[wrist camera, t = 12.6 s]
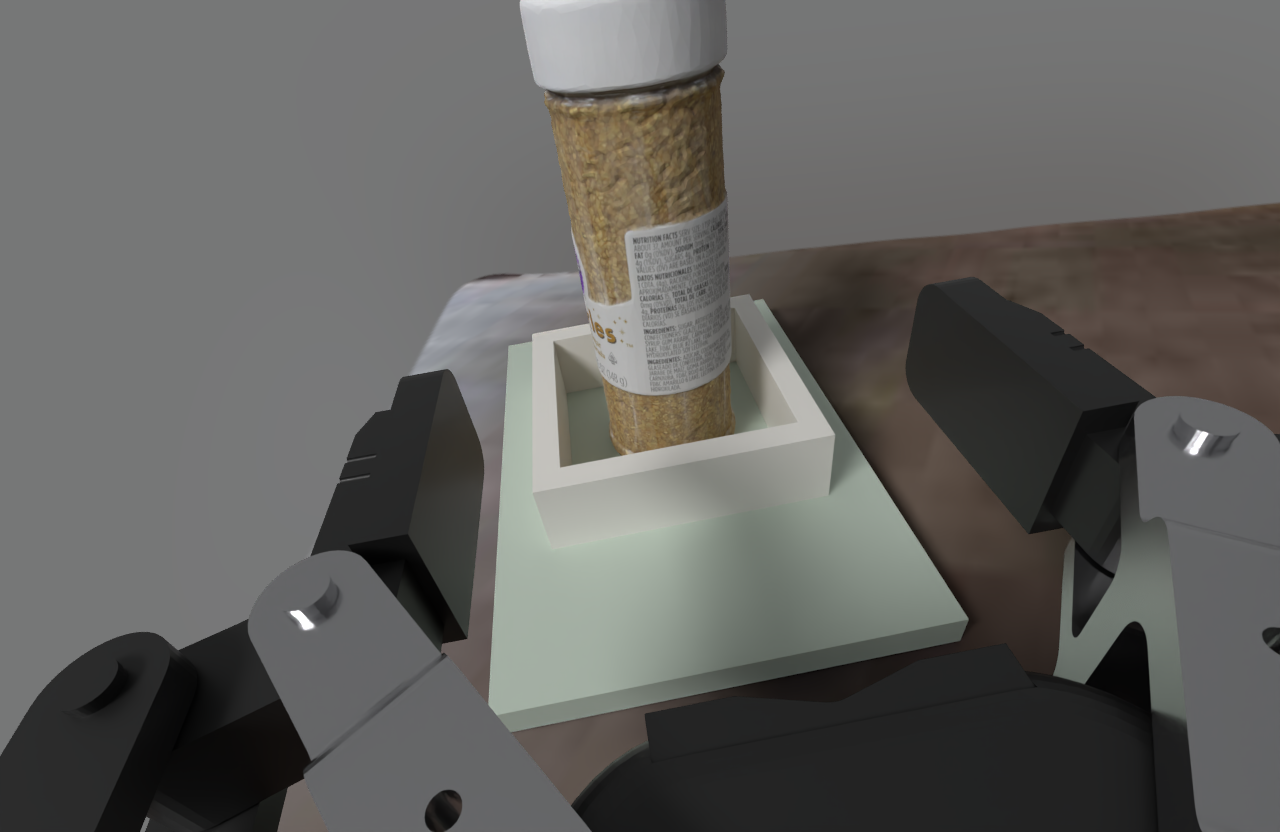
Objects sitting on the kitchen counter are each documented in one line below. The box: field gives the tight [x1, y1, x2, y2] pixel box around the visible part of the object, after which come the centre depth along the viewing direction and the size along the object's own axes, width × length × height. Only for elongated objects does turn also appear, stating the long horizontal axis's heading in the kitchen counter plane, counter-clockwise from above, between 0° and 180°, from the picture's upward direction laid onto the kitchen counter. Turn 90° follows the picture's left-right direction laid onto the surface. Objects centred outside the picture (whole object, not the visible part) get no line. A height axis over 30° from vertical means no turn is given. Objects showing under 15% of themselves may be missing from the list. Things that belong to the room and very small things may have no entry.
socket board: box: [488, 294, 969, 732], centre depth 21 cm, size 12×17×4 cm
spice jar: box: [520, 0, 736, 456], centre depth 17 cm, size 5×5×13 cm
